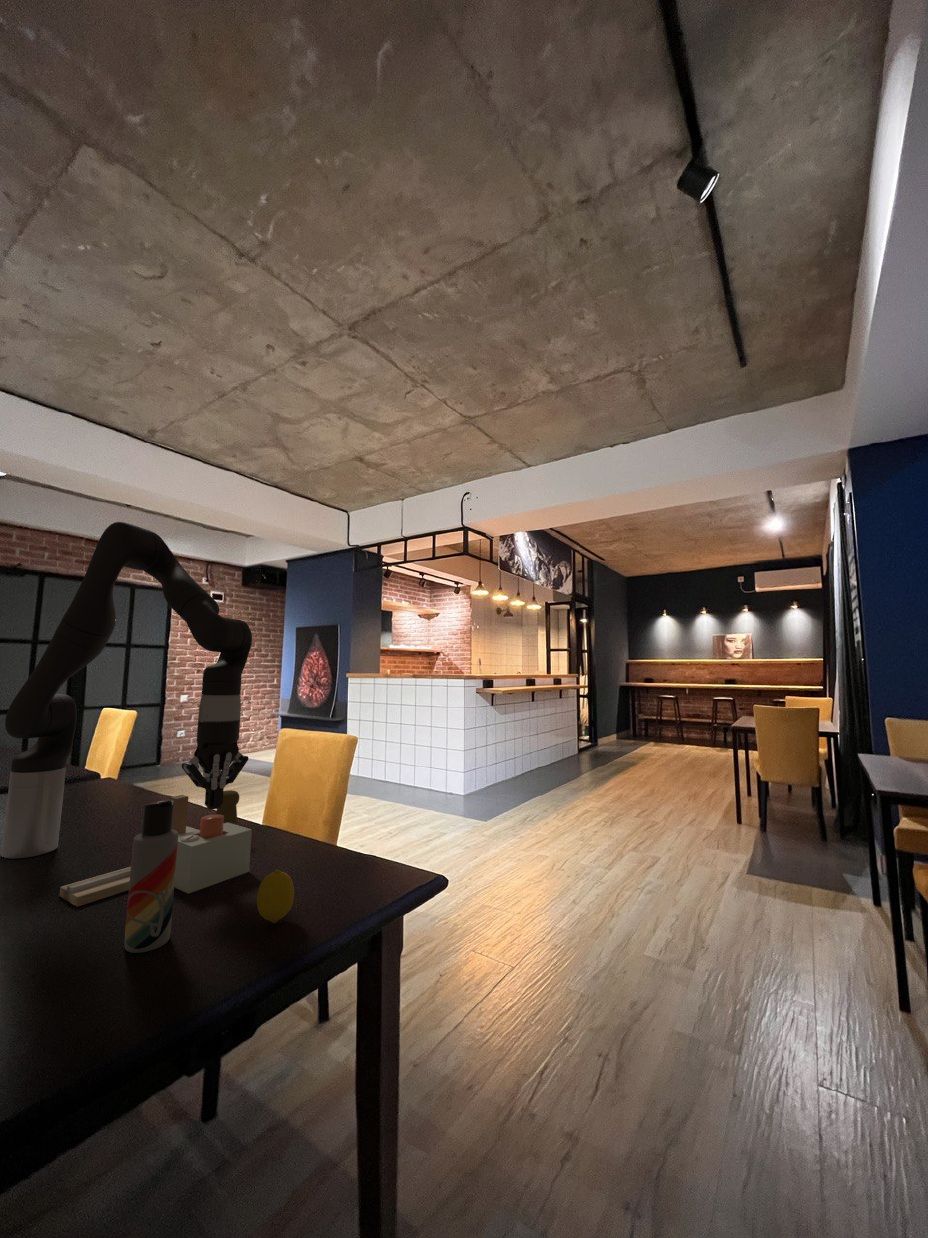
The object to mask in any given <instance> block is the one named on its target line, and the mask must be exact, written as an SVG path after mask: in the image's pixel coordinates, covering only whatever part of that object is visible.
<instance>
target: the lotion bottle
mask: <svg viewBox="0 0 928 1238" xmlns="http://www.w3.org/2000/svg"><path fill="white" fill-rule="evenodd" d="M173 807H174V801H173V800H170V799H164V800H161V801H157V802H151V803H146V804H144V805H143V812H142V813H143V814H142V820H141V821H142V822H141V832H140V833H138V834H137V835H135V836H134V837H133V841H132V842H133V843H132V849H131V852H132V853H131V861H130V867H131V872H130V883H129V890H128V896H127V907H126V917H125V918H126V920H125V930H124V931H125V933H124V942H123V943H124V949H125V951H126V952H128V953H132V954H133V953H134V954H141V953H146V952H147V953H148V952H149V951H150V952H151V951H154V950H156V949H158V948H160V947H162V946H164V945H165V944H167V942H168V941H169V940H170V937H171V931H172V919H173V918H172V917H173V905H174V895H175V894H174V893H175V887H174V883H175V871H176V858H177V845H178V832H177V831H176V830H172V821H173Z"/></svg>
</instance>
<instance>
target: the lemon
mask: <svg viewBox="0 0 928 1238" xmlns="http://www.w3.org/2000/svg"><path fill="white" fill-rule="evenodd" d="M294 899H295V887H294V882H293V879H292V878H291V876H290V875H289V874H288V873H287V872H284V871H281V870H280V869H275V870H274V871H273V872H271V873H268V874H267V875H266V876H265V877H264V878H263V879H262V881H261V883H260V884H259V888H258V892H257V895H256V907H257V911H258V914H259V915H260V917H262V918H263V919H264V920H266V921H269V922H271V923H272V924H276V923H278V922H279V920H281V919H283V918H284V917H285V916H286V915H287V914H288V913H289V912H290V910H291V909H292V906H293V905H294Z"/></svg>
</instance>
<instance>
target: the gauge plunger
mask: <svg viewBox="0 0 928 1238" xmlns="http://www.w3.org/2000/svg"><path fill="white" fill-rule="evenodd" d="M223 822H224V816H223V815H216V814H209V815H204V816H202V817H201V818H200V825H199V828H200V829H199V830H200V837H202V838H205V839H209V838H212V837H216V836H220V835H223Z"/></svg>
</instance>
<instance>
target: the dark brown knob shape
mask: <svg viewBox="0 0 928 1238" xmlns="http://www.w3.org/2000/svg"><path fill="white" fill-rule="evenodd" d="M239 801H240V793H239V792H238V791H236V790H228V789H227V790H224V791H223V802H222V805H220V808H218V809H215V810H216V811H215V815H223V816H224V822H223V824H224V823H232V824H235V825H238V826H239V824H238V811H237V810H238V809H237V807H238V806H237V805H238V804H239Z"/></svg>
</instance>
